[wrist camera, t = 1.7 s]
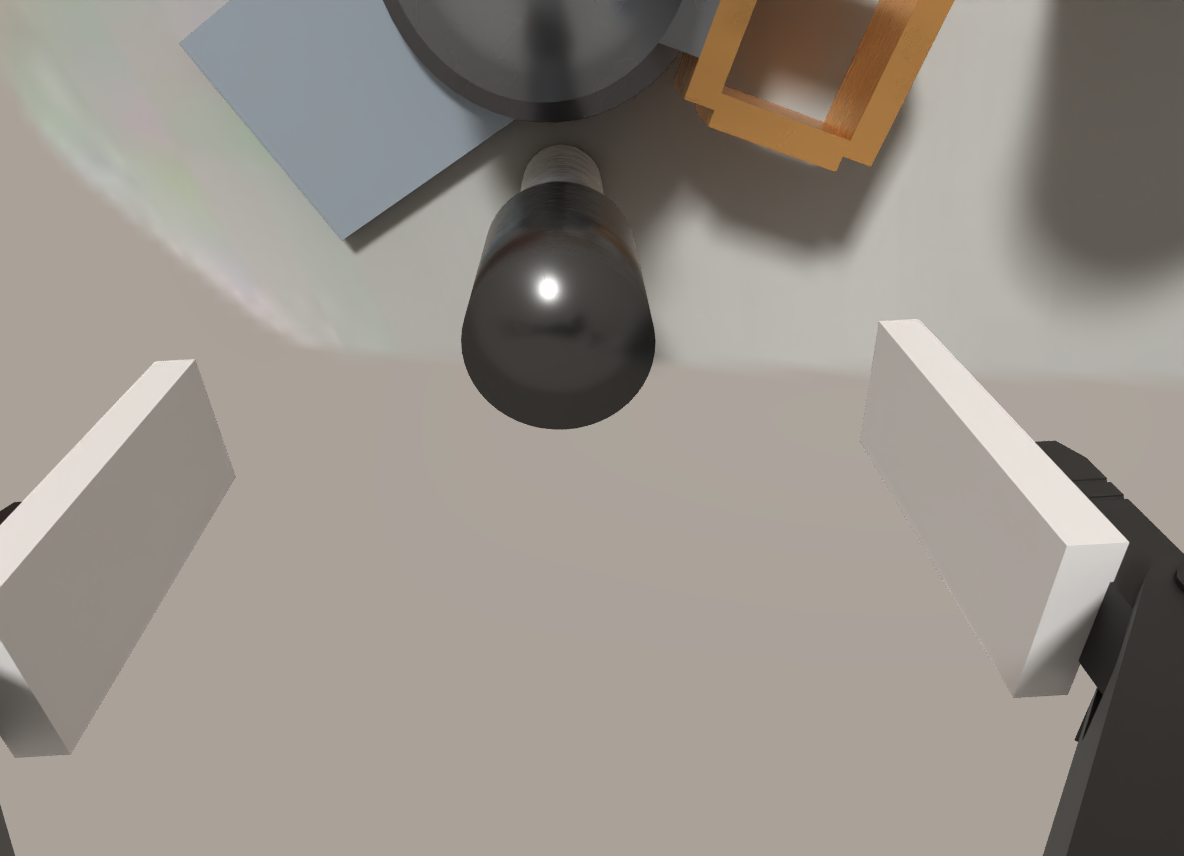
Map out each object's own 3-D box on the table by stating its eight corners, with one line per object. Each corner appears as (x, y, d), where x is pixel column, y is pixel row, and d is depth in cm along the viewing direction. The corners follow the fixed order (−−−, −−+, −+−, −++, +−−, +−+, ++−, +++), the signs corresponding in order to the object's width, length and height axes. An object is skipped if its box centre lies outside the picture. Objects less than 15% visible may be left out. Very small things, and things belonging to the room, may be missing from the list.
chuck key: (642, 203, 30) (689, 371, 18) (546, 263, 32) (534, 458, 20) (579, 100, 28) (588, 214, 17) (480, 168, 30) (421, 320, 18)
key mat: (516, 115, 29) (514, 119, 28) (346, 233, 31) (341, 240, 30) (368, -111, 25) (363, -112, 24) (188, 41, 27) (178, 43, 26)
